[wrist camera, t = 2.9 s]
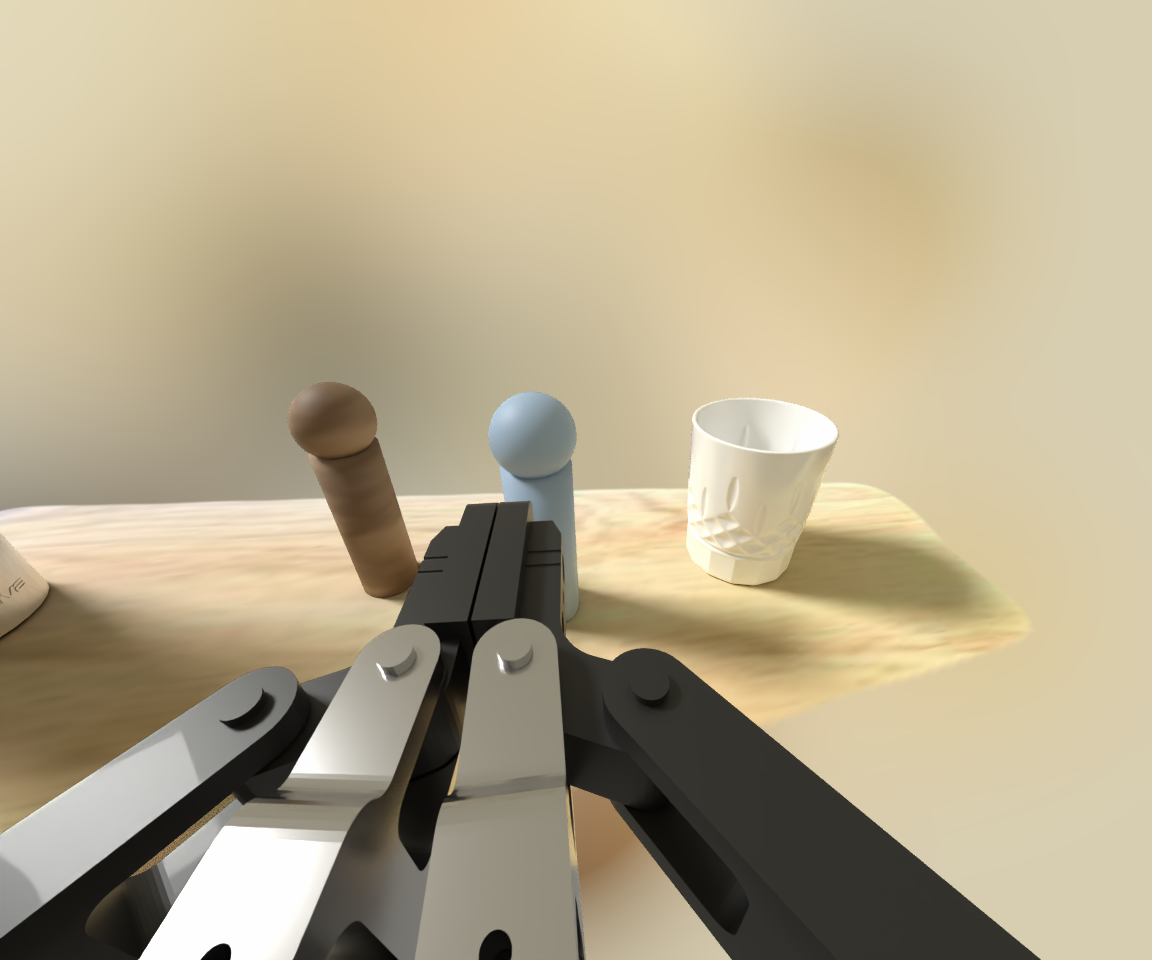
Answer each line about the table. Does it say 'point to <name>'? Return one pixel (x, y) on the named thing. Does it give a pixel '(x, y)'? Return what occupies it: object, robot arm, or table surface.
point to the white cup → (753, 484)
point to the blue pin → (540, 468)
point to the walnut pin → (355, 483)
